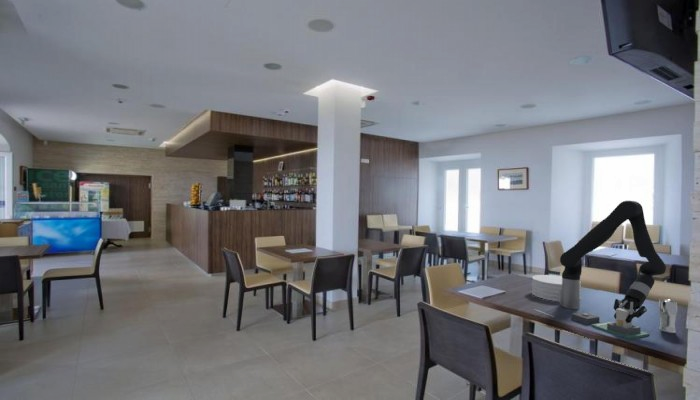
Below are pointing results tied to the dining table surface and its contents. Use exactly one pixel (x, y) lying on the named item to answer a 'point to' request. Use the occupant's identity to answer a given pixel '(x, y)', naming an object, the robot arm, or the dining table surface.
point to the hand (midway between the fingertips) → (621, 320)
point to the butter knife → (543, 312)
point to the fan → (585, 318)
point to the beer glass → (667, 315)
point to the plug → (622, 318)
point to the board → (621, 330)
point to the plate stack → (547, 286)
